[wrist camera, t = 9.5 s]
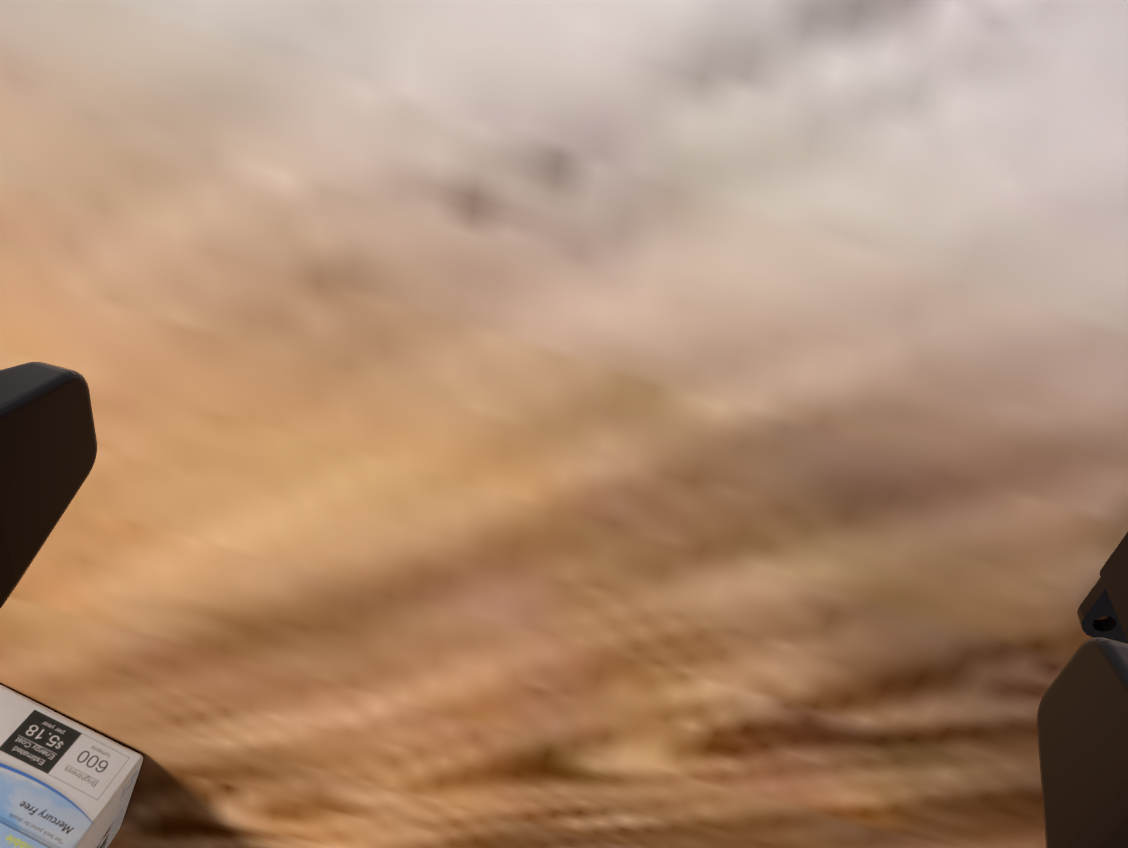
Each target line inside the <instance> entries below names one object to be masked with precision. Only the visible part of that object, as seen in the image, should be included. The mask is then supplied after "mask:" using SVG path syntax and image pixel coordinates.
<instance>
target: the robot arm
mask: <svg viewBox="0 0 1128 848" xmlns="http://www.w3.org/2000/svg"><path fill="white" fill-rule="evenodd" d="M96 453H97V441H96V434H95V427H94V420H93V414H92V407H91V400H90V394H89V388H88V384H87V382H86V380H85V379H84V377H83V376H82V375H81V374H79V373H78V372H76V371H73V370H70V369H66V368H62V367H58V366H54V365H50V364H47V363H41V362H30V363H26V364H22V365H18V366H15V367H11V368H7V369H4V370H0V608H1V607H2V606H3V604H4V603H5V601H6V600H7V598H8V597H9V596H10V594H11V593H12V591H13V590H14V588H15V587H16V585H17V584H18V583H19V581H20V579H21V578H22V576H23V575H24V573H25V572H26V570H27V569H28V567H29V566H30V564H31V562H32V561H33V559H34V558H35V556H36V555H37V553H38V552H39V550H40V549H41V547H42V546H43V544H44V542H45V541H46V539H47V538H48V536H49V535H50V533H51V532H52V530H53V529H54V527H55V526H56V524H57V522H58V521H59V519H60V518H61V516H62V515H63V513H64V512H65V510H66V509H67V507H68V505H69V504H70V502H71V501H72V499H73V498H74V496H75V495H76V493H77V492H78V490H79V489H80V487H81V485H82V484H83V482H84V481H85V479H86V478H87V476H88V475H89V473H90V471H91V469H92V467H93V464H94V462H95V458H96ZM1100 576H1101V578H1100V579H1099V580H1098V582H1097V583H1096V584H1095V586H1094V587H1093V589H1092V590H1091V591H1090V593H1089V594H1088V596H1087V597H1086V598H1085V600H1084V601H1083V603H1082V604H1081V605H1080V607H1079V609H1078V612H1077V614H1078V618H1079V621H1080V624H1081V627H1082V629H1083V631H1084V632H1085V633H1086V634H1087V635H1089V636H1091V637H1094V638H1092V639H1089V640H1088V641H1086V642H1084V643H1083V644H1082V645H1081V647H1080V648H1079V649H1078V650H1077V652H1076V653H1075V654H1074V656H1073V657H1072V658H1071V659H1070V661H1069V662H1068V663H1067V665H1066V666H1065V667H1064V669H1063V670H1062V671H1061V672H1060V674H1059V675H1058V676H1057V678H1056V679H1055V680H1054V682H1053V683H1052V684H1051V686H1050V687H1049V688H1048V689H1047V691H1046V692H1045V694H1044V696H1043V697H1042V700H1041V702H1040V705H1039V709H1038V715H1037V731H1038V744H1039V757H1040V770H1041V783H1042V796H1043V809H1044V822H1045V836H1046V848H1128V533H1127V534H1126V535H1125V537H1124V538H1123V540H1122V541H1121V542H1120V544H1119V545H1118V547H1117V548H1116V549H1115V551H1114V552H1113V554H1112V555H1111V556H1110V558H1109V559H1108V561H1107V562H1106V563H1105V565H1104V566H1103V568H1102V569H1101V571H1100ZM1102 616H1109V617H1108V618H1107V619H1103V620H1095V619H1097V618H1098V617H1102Z"/></svg>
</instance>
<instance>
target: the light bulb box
mask: <svg viewBox="0 0 1128 848" xmlns="http://www.w3.org/2000/svg"><path fill="white" fill-rule="evenodd" d="M142 762H143V756H142V755H141V754H139V753H137V752H135V751H133V750H131V749H129V748H127V747H124V746H122V745H120V744H118V743H116V742H114V741H112V740H110V739H108V738H106V737H105V736H103V735H101V734H99V733H96V732H94V731H92V730H90V729H88V728H86V727H84V726H82V725H80V724H78V723H76V722H74V721H72V720H70V719H68V718H66V717H64V716H62V715H60V714H58V713H56V712H54V711H52V710H51V709H49V708H47V707H45V706H43V705H41V704H39V703H37V702H35V701H33V700H31V699H29V698H27V697H25V696H23V695H21V694H19V693H17V692H15V691H13V690H11V689H9V688H7V687H5V686H2V685H0V848H107V847H108V846H109V844H110V843H111V841H112V840H113V838H114V837H115V835H116V834H117V832H118V831H119V829H120V827H121V824H122V821H123V818H124V815H125V812H126V810H127V807H128V804H129V801H130V798H131V795H132V792H133V789H134V786H135V783H136V780H137V777H138V774H139V771H140V768H141V765H142Z"/></svg>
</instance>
